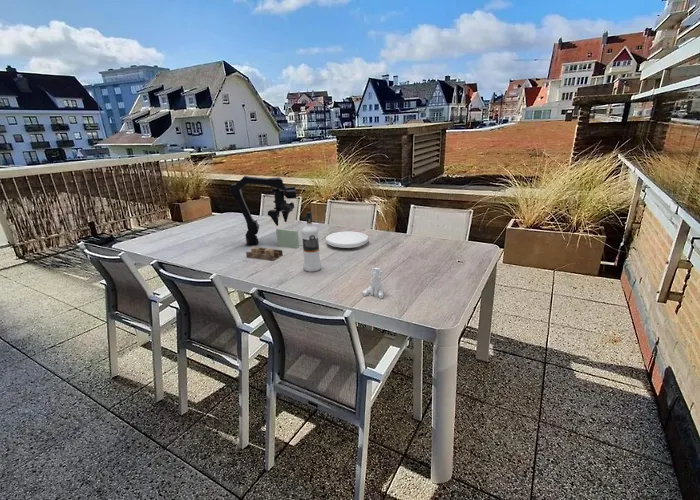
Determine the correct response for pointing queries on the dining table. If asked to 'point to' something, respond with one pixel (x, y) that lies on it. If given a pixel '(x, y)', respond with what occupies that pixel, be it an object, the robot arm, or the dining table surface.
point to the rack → (265, 255)
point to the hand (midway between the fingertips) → (281, 223)
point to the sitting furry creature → (374, 284)
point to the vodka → (310, 246)
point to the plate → (347, 239)
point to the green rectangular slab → (287, 238)
